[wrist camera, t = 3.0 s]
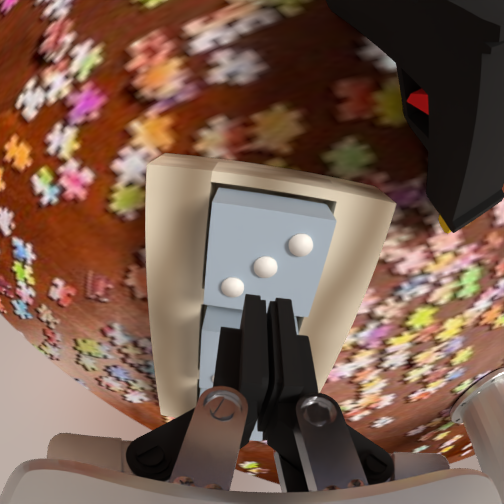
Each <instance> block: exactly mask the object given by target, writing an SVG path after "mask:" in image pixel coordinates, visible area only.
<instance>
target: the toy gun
mask: <svg viewBox="0 0 504 504" xmlns="http://www.w3.org/2000/svg"><path fill="white" fill-rule="evenodd" d="M326 1H327V4H328V6H329V8H330V9H331V11H332V12H334V13H335V14H337V15H338V16H339V17H341V18H342V19H343V20H345V21H346V22H348V23H349V24H350V25H352V26H353V27H354V28H355V29H357V30H358V31H359V32H361V33H362V34H363V35H364V36H366V37H367V38H368V39H369V40H370V41H372V42H373V43H374V44H375V45H376V46H378V47H379V48H380V49H381V50H382V51H383V52H384V53H386V54H387V55H388V56H389V57H390V58H391V59H392V60H393V61H394V62H395V63H396V66H397V72H398V77H399V84H400V90H401V97H402V105H403V113H404V116H405V119H406V120H407V122H408V124H409V126H410V128H411V129H412V130H413V131H414V133H415V134H416V135H417V137H418V138H419V139H420V141H421V142H422V144H423V145H424V146H425V148H426V149H427V151H428V173H427V188H426V194H427V197H428V198H429V199H430V201H431V202H432V204H433V205H434V207H435V208H436V210H437V211H438V212H439V218H438V220H439V223H440V226H441V227H442V229H443V230H444V232H445V233H447V234H448V233H450V232H451V231H452V232H453V233H455V232H456V231H458V230H459V229H461V228H462V227H464V226H465V225H467V224H469V223H470V222H472V221H473V220H475V219H476V218H478V217H479V216H480V215H482V214H483V213H485V212H486V211H488V210H489V209H491V208H492V207H494V206H495V205H496V204H498V203H499V202H501V201H502V199H503V198H504V193H503V191H502V187H503V184H504V0H326Z"/></svg>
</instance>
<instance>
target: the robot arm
mask: <svg viewBox="0 0 504 504" xmlns="http://www.w3.org/2000/svg"><path fill="white" fill-rule="evenodd" d="M450 418H451V420H452V422H454V423H464V426H465V428H466V430H467V433H468V435H469V438H470V440H471V443H472V446H473V448H474V451H475V454H476V456H477V459H478V462H479V465H480V467H481V470H482V472H481V471H477V470H473V469H466V468H465V469H463V468H457V469H456V468H455V469H450V466H449V463H448V461H447V459H446V458H445V457H444V456H442V455H441V454H436V453H404V452H394V453H393V454H389V453H387V452H386V451H385V450H384V449H382V448H381V447H379V446H378V445H376V444H375V443H373V442H372V441H370V440H369V439H367V438H366V437H364V436H363V435H361V434H360V433H359V432H357V431H356V430H354V429H353V428H351V427H350V426H349V425H347V424H346V422H345V419H344V417H343V414H342V411H341V409H340V407H339V405H338V403H337V402H336V401H335V400H334V399H333V398H331V397H329V396H328V395H325V394H322V393H319V392H318V386H317V380H316V374H315V368H314V363H313V357H312V352H311V346H310V341H309V337H308V336H306V335H297V333H296V326H295V320H294V313H293V306H292V300H291V299H285V298H276V299H275V301H270V302H269V306H268V311H267V313H266V300H261V296H260V295H252V294H245V300H244V306H243V312H242V318H241V324H240V329H237V328H229V327H221V329H220V336H219V344H218V351H217V359H216V366H215V374H214V382H213V387H212V388H209V389H207V390H206V391H204V392H203V393H202V394H201V396H200V397H199V399H198V402H197V405H196V407H195V408H193V409H191V410H190V411H188V412H186V413H184V414H182V415H181V416H179V417H177V418H175V419H173V420H171V421H170V422H168V423H166V424H164V425H162V426H160V427H158V428H156V429H154V430H153V431H151V432H149V433H147V434H145V435H143V436H141V437H139V438H137V439H136V440H134V441H124V440H123V441H122V439H121V438H111V437H98V436H88V435H79V434H71V433H60V434H57V435H55V436H54V437H53V438H52V439H51V440H50V442H49V445H48V451H47V459H34V460H29V461H26V462H23V463H22V464H20V465H19V466H18V467H17V468H16V469H15V470H14V471H13V472H12V474H11V475H10V477H9V479H8V481H7V483H6V485H5V487H4V489H3V491H2V494H1V496H0V504H504V367H503V368H501V369H498V370H496V371H494V372H492V373H490V374H489V375H487V376H485V377H484V378H483V379H481V380H480V381H478V382H477V383H476V384H474V385H473V386H472V387H471V388H470V389H468V390H467V391H466V392H465V393H464V394H463V395H462V396H461V397H460V398H459V399H458V400H457V402H456V403H455V404H454V406H453V407H452V409H451V411H450ZM256 422H257V431H258V432H263V440H267V444H268V445H269V446H270V447H272V448H273V449H274V457H275V462H276V467H277V472H278V476H279V481H280V486H281V490H282V493H263V492H262V493H261V492H240V491H229V490H230V486H231V482H232V478H233V474H234V469H235V465H236V461H237V457H238V452H239V449H241V448H242V447H243V446H245V445H246V444H247V443H249V440H250V437H251V434H252V431H253V430H254V427H255V424H256Z"/></svg>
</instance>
